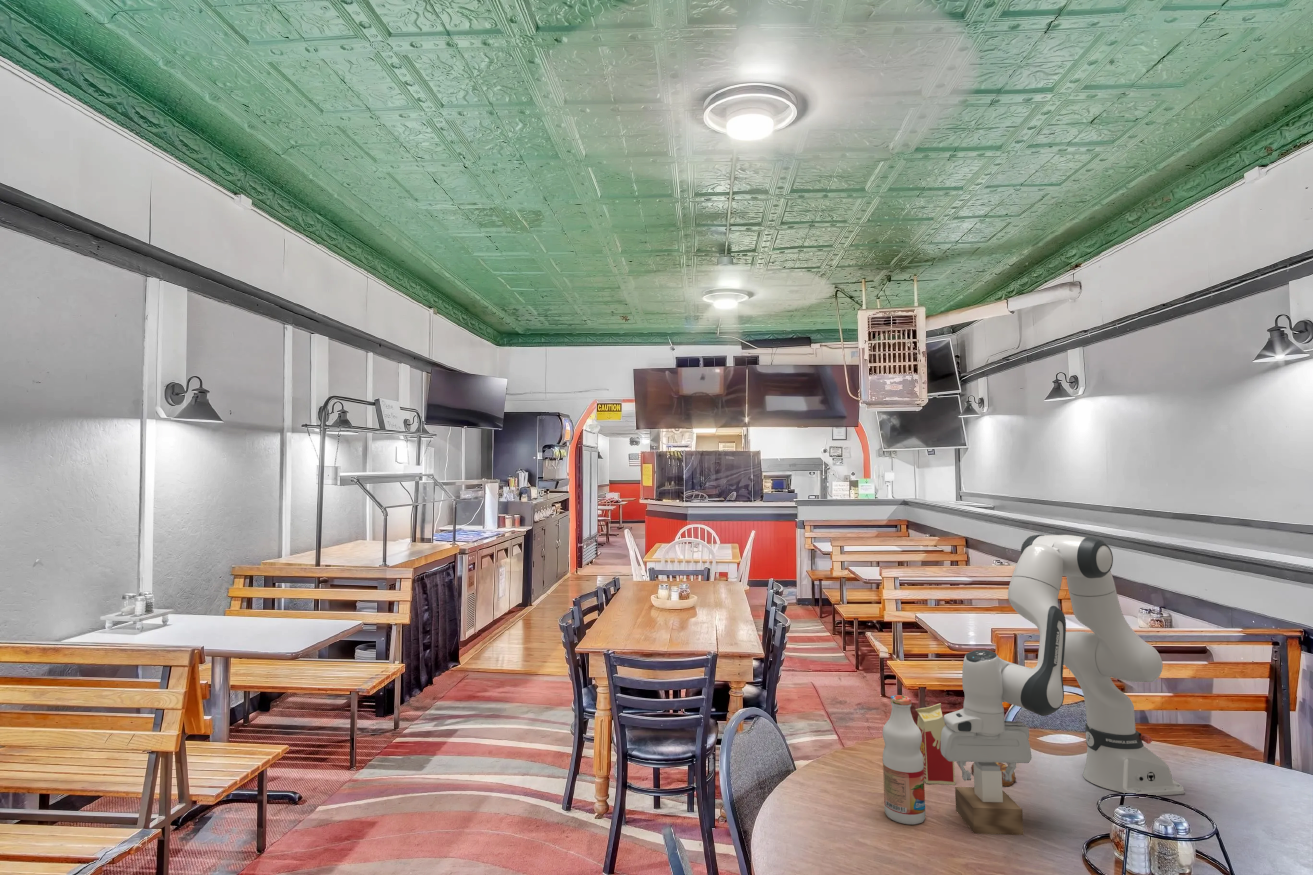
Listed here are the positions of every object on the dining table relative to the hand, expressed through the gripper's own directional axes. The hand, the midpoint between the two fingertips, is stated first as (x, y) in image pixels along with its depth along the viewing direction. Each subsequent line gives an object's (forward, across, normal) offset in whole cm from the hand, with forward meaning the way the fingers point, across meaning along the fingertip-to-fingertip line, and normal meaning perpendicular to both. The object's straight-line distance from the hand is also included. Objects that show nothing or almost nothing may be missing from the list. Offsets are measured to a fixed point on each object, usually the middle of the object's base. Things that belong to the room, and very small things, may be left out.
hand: (986, 779), depth 157 cm
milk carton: (+10, +4, -25) cm, 27 cm away
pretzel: (+10, -13, -26) cm, 31 cm away
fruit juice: (+10, +19, -2) cm, 22 cm away
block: (+10, 0, 0) cm, 10 cm away
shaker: (+4, 0, 0) cm, 4 cm away
